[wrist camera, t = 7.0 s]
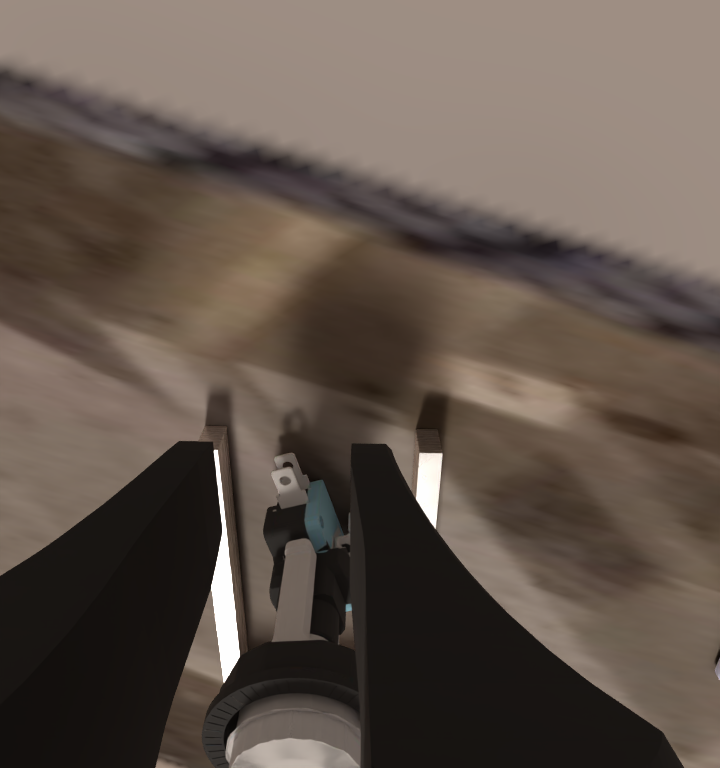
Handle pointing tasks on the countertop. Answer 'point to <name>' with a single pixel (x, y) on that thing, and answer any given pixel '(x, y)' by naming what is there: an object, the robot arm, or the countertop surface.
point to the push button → (295, 647)
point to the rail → (228, 562)
